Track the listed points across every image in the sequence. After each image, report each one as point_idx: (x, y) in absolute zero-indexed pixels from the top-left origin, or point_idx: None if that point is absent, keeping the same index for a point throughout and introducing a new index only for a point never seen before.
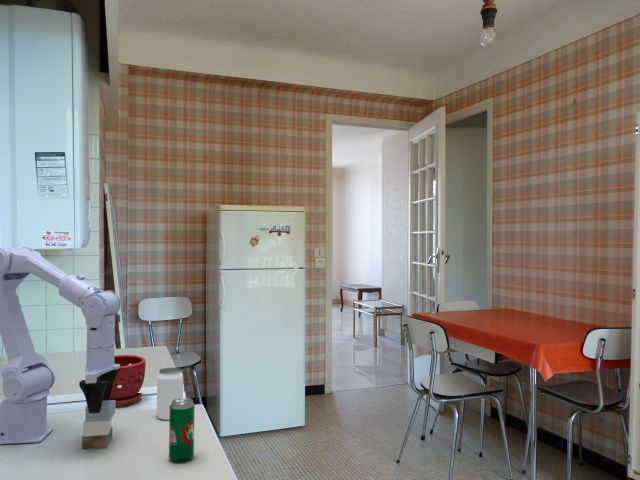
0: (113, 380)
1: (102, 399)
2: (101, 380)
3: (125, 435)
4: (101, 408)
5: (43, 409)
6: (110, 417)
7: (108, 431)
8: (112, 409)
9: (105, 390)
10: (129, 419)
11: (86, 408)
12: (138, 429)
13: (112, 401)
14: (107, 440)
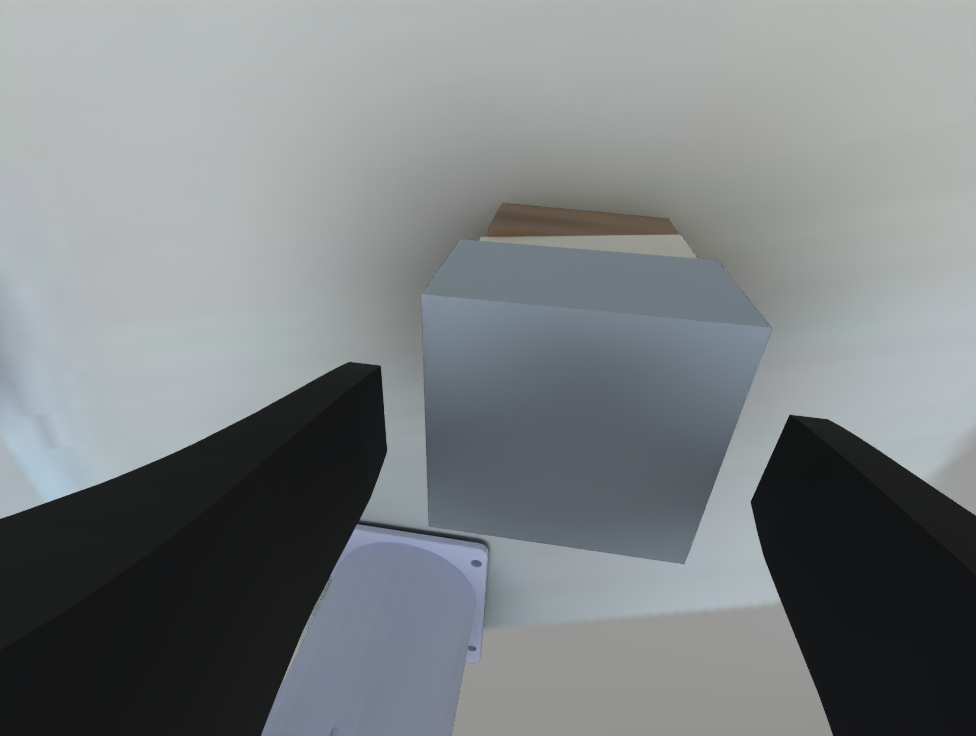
0: (166, 545)
1: (933, 524)
2: (227, 708)
3: (440, 110)
4: (734, 420)
5: (381, 681)
6: (684, 266)
7: (655, 239)
8: (598, 280)
9: (312, 499)
10: (116, 139)
11: (687, 555)
12: (315, 10)
13: (479, 326)
14: (642, 226)
